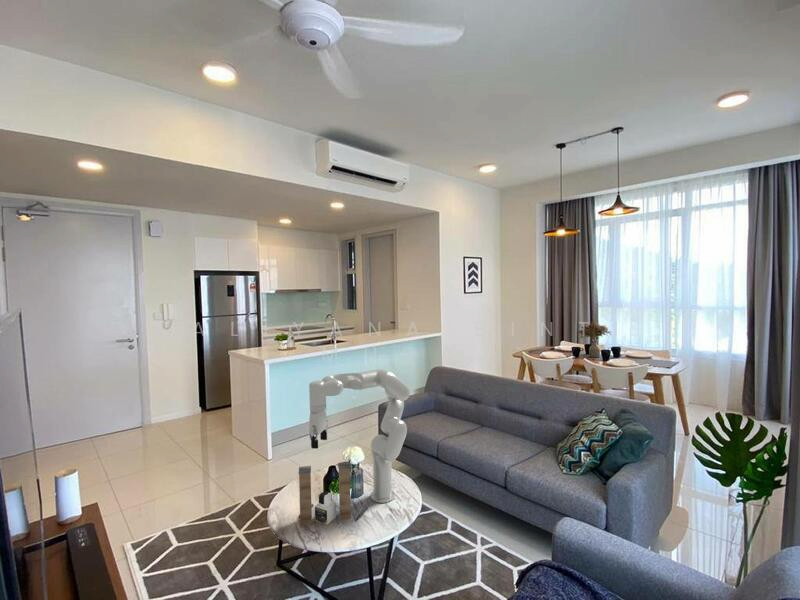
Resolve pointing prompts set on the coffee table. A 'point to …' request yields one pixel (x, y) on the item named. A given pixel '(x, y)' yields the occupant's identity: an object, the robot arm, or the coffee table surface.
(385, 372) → the robot arm
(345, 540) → the coffee table surface
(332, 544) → the coffee table surface
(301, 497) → the post
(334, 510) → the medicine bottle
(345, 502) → the post
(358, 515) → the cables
